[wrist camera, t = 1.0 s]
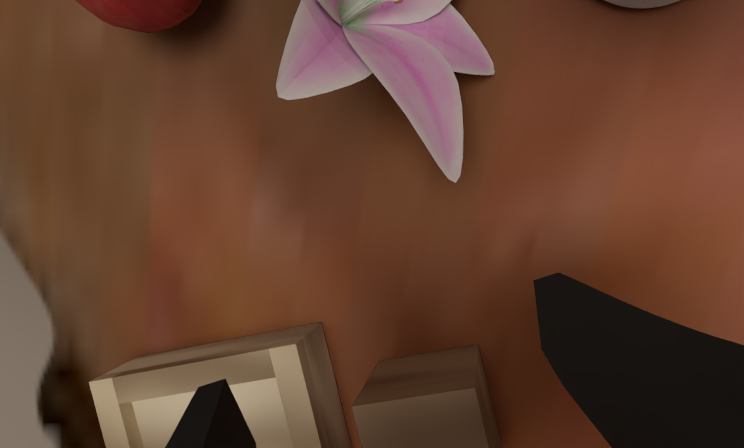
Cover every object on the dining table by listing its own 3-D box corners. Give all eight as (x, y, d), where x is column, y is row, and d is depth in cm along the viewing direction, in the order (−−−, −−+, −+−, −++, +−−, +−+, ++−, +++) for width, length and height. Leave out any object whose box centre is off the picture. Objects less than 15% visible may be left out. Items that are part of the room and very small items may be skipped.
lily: (446, 221, 24) (573, 168, 15) (176, 162, 22) (132, 57, 13) (479, -15, 27) (607, -185, 17) (238, -92, 24) (239, -337, 15)
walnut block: (501, 443, 24) (504, 512, 19) (402, 455, 25) (380, 524, 20) (478, 344, 24) (474, 387, 19) (379, 360, 25) (351, 406, 20)
